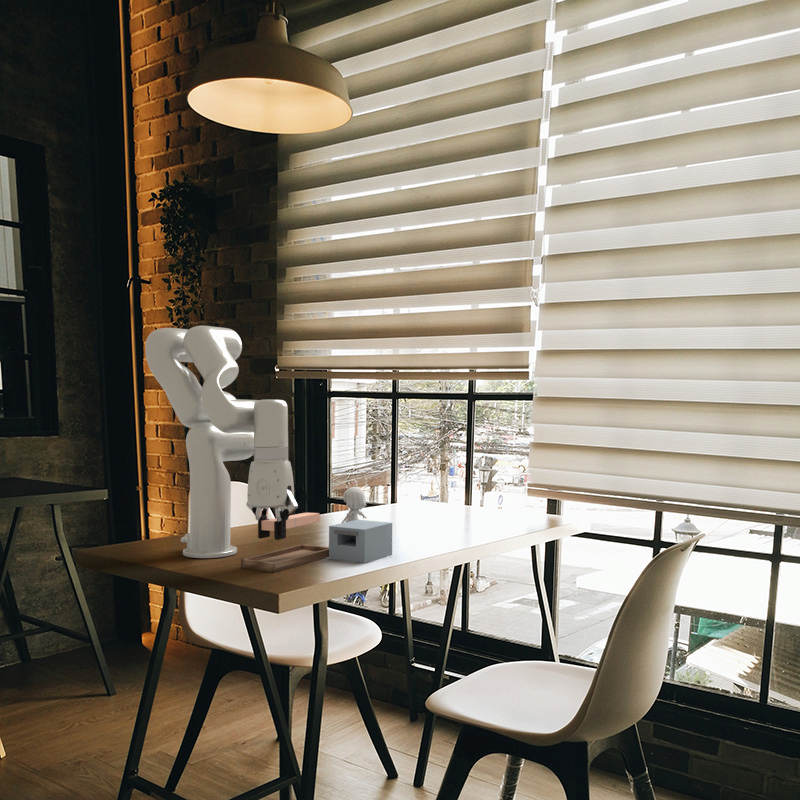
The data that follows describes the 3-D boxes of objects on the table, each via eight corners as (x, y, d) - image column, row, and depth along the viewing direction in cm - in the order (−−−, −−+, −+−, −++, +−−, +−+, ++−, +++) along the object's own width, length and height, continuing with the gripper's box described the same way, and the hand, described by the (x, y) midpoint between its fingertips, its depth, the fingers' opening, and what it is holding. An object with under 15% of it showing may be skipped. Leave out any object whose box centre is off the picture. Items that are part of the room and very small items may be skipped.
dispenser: (327, 559, 168) (327, 526, 169) (357, 550, 179) (357, 519, 179) (363, 563, 163) (363, 529, 164) (392, 554, 174) (392, 522, 174)
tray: (240, 567, 159) (241, 559, 159) (302, 551, 178) (302, 544, 178) (274, 572, 154) (274, 563, 154) (334, 555, 173) (334, 547, 173)
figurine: (357, 540, 193) (357, 484, 193) (375, 543, 190) (376, 485, 190) (332, 546, 184) (333, 487, 185) (351, 549, 181) (351, 489, 181)
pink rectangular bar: (261, 530, 160) (261, 520, 160) (306, 521, 174) (306, 512, 174) (275, 531, 158) (275, 521, 158) (319, 521, 172) (319, 513, 172)
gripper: (231, 455, 162) (231, 538, 161) (289, 456, 153) (290, 543, 152) (254, 454, 168) (255, 533, 167) (311, 454, 160) (312, 538, 159)
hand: (272, 537), depth 160 cm, fingers closed on pink rectangular bar, 4 cm apart
